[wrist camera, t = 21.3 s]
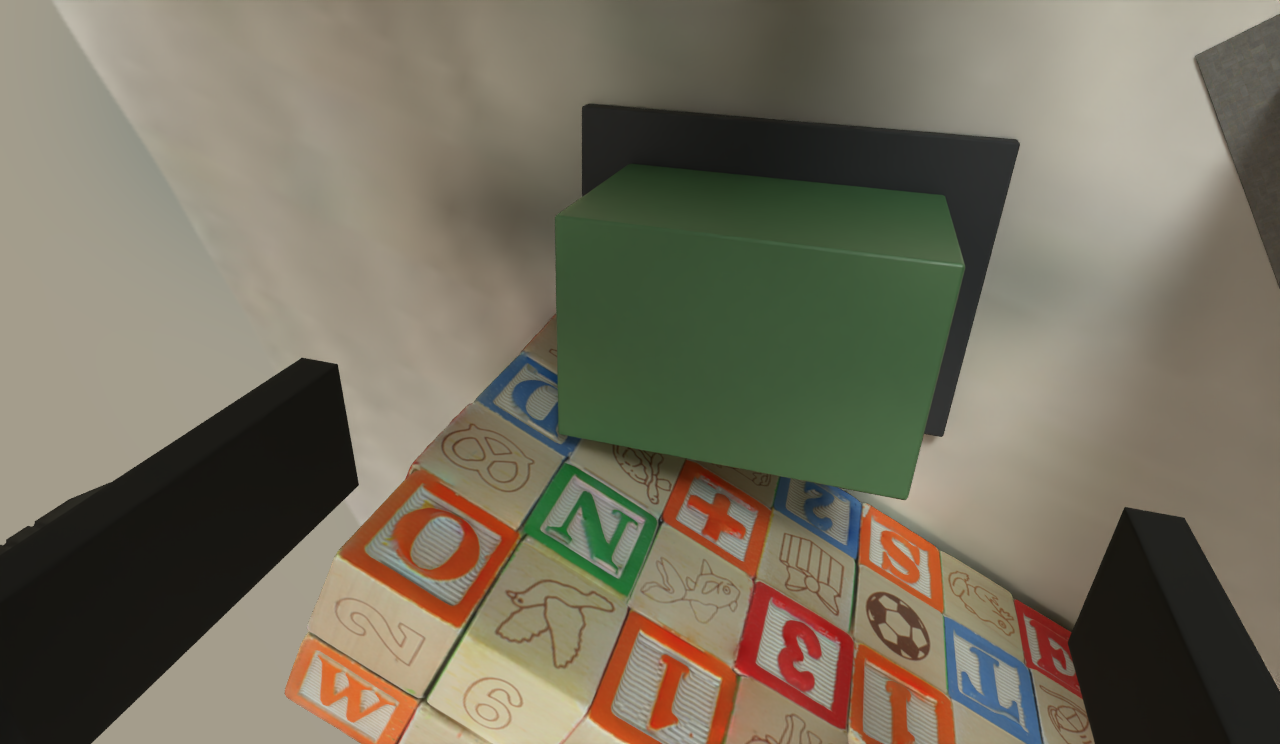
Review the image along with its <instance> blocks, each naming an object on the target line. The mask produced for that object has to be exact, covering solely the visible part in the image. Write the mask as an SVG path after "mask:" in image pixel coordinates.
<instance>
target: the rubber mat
mask: <svg viewBox="0 0 1280 744" xmlns="http://www.w3.org/2000/svg"><path fill="white" fill-rule="evenodd" d="M1019 146H1020V143H1019V142H1018V141H1017V140H1015V139H1003V138H991V137H979V136H967V135H955V134H943V133H931V132H919V131H907V130H895V129H883V128H871V127H859V126H847V125H835V124H823V123H811V122H799V121H787V120H775V119H763V118H751V117H738V116H726V115H714V114H702V113H690V112H678V111H666V110H654V109H642V108H630V107H618V106H606V105H594V104H587V105H585V106H583V107H582V197H583V196H584V195H586V194H587V193H589V192H590V191H591V190H593V189H594V188H596V187H597V186H599V185H600V184H601V183H603V182H604V181H606V180H607V179H609V178H610V177H611V176H613V175H614V174H616V173H617V172H619V171H620V170H621V169H623V168H624V167H626V166H627V165H628V164H639V165H649V166H659V167H669V168H679V169H689V170H698V171H708V172H718V173H728V174H738V175H748V176H758V177H768V178H778V179H788V180H797V181H807V182H817V183H827V184H837V185H847V186H857V187H867V188H877V189H886V190H896V191H906V192H916V193H926V194H936V195H943V196H945V198H946V201H947V205H948V208H949V212H950V215H951V219H952V222H953V226H954V229H955V233H956V236H957V240H958V243H959V247H960V250H961V254H962V257H963V261H964V264H965V271H964V275H963V279H962V283H961V287H960V291H959V295H958V299H957V303H956V307H955V311H954V315H953V319H952V323H951V327H950V331H949V335H948V339H947V343H946V347H945V351H944V355H943V359H942V363H941V367H940V371H939V375H938V379H937V383H936V387H935V391H934V395H933V399H932V403H931V407H930V411H929V415H928V419H927V423H926V427H925V431H924V434H928V435H934V436H940V437H942V436H943V434H944V431H945V427H946V423H947V419H948V415H949V412H950V408H951V404H952V400H953V396H954V393H955V389H956V385H957V381H958V377H959V374H960V370H961V366H962V362H963V358H964V355H965V351H966V347H967V343H968V340H969V336H970V332H971V328H972V324H973V321H974V317H975V313H976V309H977V305H978V302H979V298H980V294H981V290H982V286H983V283H984V279H985V275H986V271H987V267H988V264H989V260H990V256H991V252H992V248H993V245H994V241H995V237H996V233H997V229H998V226H999V222H1000V218H1001V214H1002V211H1003V207H1004V203H1005V199H1006V195H1007V192H1008V188H1009V184H1010V180H1011V176H1012V173H1013V169H1014V165H1015V161H1016V157H1017V154H1018V150H1019Z"/></svg>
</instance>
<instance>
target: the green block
mask: <svg viewBox="0 0 1280 744" xmlns="http://www.w3.org/2000/svg"><path fill="white" fill-rule="evenodd" d="M555 255H556V316H557V377H558V432H559V434H561V435H566V436H572V437H577V438H582V439H587V440H593V441H598V442H603V443H608V444H613V445H619V446H624V447H629V448H634V449H640V450H645V451H650V452H655V453H661V454H666V455H671V456H676V457H682V458H687V459H692V460H697V461H702V462H708V463H713V464H718V465H723V466H729V467H734V468H739V469H744V470H750V471H755V472H760V473H765V474H771V475H776V476H781V477H786V478H791V479H797V480H802V481H807V482H812V483H818V484H823V485H828V486H833V487H839V488H844V489H849V490H854V491H859V492H865V493H870V494H875V495H880V496H886V497H891V498H896V499H901V500H906V499H907V498H908V495H909V491H910V487H911V483H912V479H913V475H914V471H915V467H916V463H917V459H918V455H919V451H920V447H921V443H922V439H923V435H924V431H925V427H926V423H927V419H928V415H929V411H930V407H931V403H932V399H933V395H934V391H935V387H936V383H937V379H938V375H939V371H940V367H941V363H942V359H943V355H944V351H945V347H946V343H947V339H948V335H949V331H950V327H951V323H952V319H953V315H954V311H955V307H956V303H957V299H958V295H959V291H960V287H961V283H962V279H963V275H964V271H965V264H964V261H963V257H962V254H961V250H960V247H959V243H958V240H957V236H956V233H955V229H954V226H953V222H952V219H951V215H950V212H949V208H948V205H947V201H946V198H945V196H943V195H936V194H926V193H916V192H906V191H896V190H886V189H877V188H867V187H857V186H847V185H837V184H827V183H817V182H807V181H797V180H788V179H778V178H768V177H758V176H748V175H738V174H728V173H718V172H708V171H698V170H689V169H679V168H669V167H659V166H649V165H639V164H628V165H627V166H626V167H624V168H623V169H621V170H620V171H619V172H617V173H616V174H614V175H613V176H611V177H610V178H609V179H607V180H606V181H604V182H603V183H601V184H600V185H599V186H597V187H596V188H594V189H593V190H591V191H590V192H589V193H587V194H586V195H584V196H583V197H581V198H580V199H579V200H577V201H576V202H574V203H573V204H571V205H570V206H569V207H567V208H566V209H564V210H563V211H562V212H560V213H559V214H557V215H556V217H555Z"/></svg>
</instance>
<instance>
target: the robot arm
mask: <svg viewBox="0 0 1280 744" xmlns="http://www.w3.org/2000/svg"><path fill="white" fill-rule="evenodd" d="M358 485H359V483H358V477H357V472H356V466H355V460H354V455H353V449H352V443H351V438H350V432H349V426H348V421H347V415H346V409H345V403H344V398H343V392H342V386H341V381H340V375H339V369H338V364H334V363H328V362H323V361H317V360H311V359H306V358H301V359H299V360H298V361H296V362H295V363H293V364H292V365H290V366H289V367H287V368H286V369H284V370H283V371H281V372H280V373H278V374H276V375H275V376H273V377H272V378H270V379H269V380H268V381H266V382H264V383H263V384H261V385H260V386H258V387H257V388H255V389H254V390H252V391H250V392H249V393H247V394H246V395H244V396H243V397H241V398H240V399H238V400H237V401H235V402H234V403H232V404H231V405H229V406H228V407H226V408H224V409H223V410H221V411H220V412H218V413H217V414H215V415H214V416H212V417H211V418H209V419H208V420H206V421H205V422H203V423H201V424H200V425H199V426H197V427H196V428H194V429H192V430H191V431H189V432H188V433H186V434H185V435H183V436H182V437H180V438H179V439H177V440H175V441H174V442H173V443H171V444H170V445H168V446H166V447H165V448H163V449H162V450H160V451H159V452H157V453H156V454H154V455H153V456H151V457H150V458H148V459H147V460H145V461H143V462H142V463H140V464H139V465H137V466H136V467H134V468H133V469H131V470H130V471H128V472H127V473H125V474H124V475H122V476H121V477H119V478H117V479H116V480H114V481H113V482H111V483H108V484H106V485H103V486H101V487H98V488H96V489H93V490H91V491H88V492H86V493H83V494H81V495H79V496H76V497H74V498H71V499H69V500H68V501H66V502H65V503H63V504H61V505H60V506H58V507H57V508H55V509H54V510H52V511H50V512H49V513H47V514H46V515H44V516H43V517H41V518H40V519H38V520H37V521H35V524H34V526H33V527H30V526H27V527H26V528H24V529H22V530H21V531H19V532H18V533H16V534H15V535H13V536H12V537H10V538H8V539H7V540H6V544H5V545H0V744H91V743H92V742H93V741H94V740H95V739H96V738H97V737H98V736H99V735H101V734H102V733H103V732H104V731H105V729H107V728H108V727H109V726H110V725H111V724H112V723H113V722H114V721H115V720H116V719H117V718H118V717H119V716H120V715H121V714H122V713H123V712H124V711H125V710H126V709H127V708H128V707H130V706H131V705H132V704H133V703H134V702H135V701H136V700H137V699H138V698H139V697H140V696H141V695H142V694H143V693H144V692H145V691H146V690H147V689H148V688H149V687H150V686H151V685H152V684H153V683H154V682H155V681H156V680H157V679H159V678H160V677H161V676H162V675H163V674H164V673H165V672H166V671H167V670H168V669H169V668H170V667H171V666H172V665H173V664H174V663H175V662H176V661H177V660H178V659H179V658H180V657H181V656H182V655H183V654H184V653H185V652H187V650H189V648H191V647H192V646H193V645H194V644H195V643H196V642H197V641H198V640H199V639H200V638H201V637H202V636H203V635H204V634H205V633H206V632H207V631H208V630H209V629H210V628H211V627H212V626H213V625H214V624H215V623H217V622H218V621H219V620H220V619H221V618H222V617H223V616H224V615H225V614H226V613H227V612H228V611H229V610H230V609H231V608H232V607H233V606H234V605H235V604H236V603H237V602H238V601H239V600H240V599H241V598H242V597H244V595H246V594H247V593H248V592H249V591H250V590H251V589H252V588H253V587H254V586H255V585H256V584H257V583H258V582H259V581H260V580H261V579H262V578H263V577H264V576H265V575H266V574H267V573H268V572H269V571H270V570H271V569H273V568H274V566H276V564H278V563H279V562H280V561H281V560H282V559H283V558H284V557H285V556H286V555H287V554H288V553H289V552H290V551H291V550H292V549H293V548H294V547H295V546H296V545H297V544H298V543H299V542H300V541H302V540H303V539H304V538H305V537H306V536H307V535H308V534H309V533H310V532H311V531H312V530H313V529H314V528H315V527H316V526H317V525H318V524H319V523H320V522H321V521H322V520H323V519H324V518H325V517H326V516H327V515H328V514H329V513H331V511H333V509H335V508H336V507H337V506H338V505H339V504H340V503H341V502H342V501H343V500H344V499H345V498H346V497H347V496H348V495H349V494H350V493H351V492H352V491H353V490H354V489H355V488H356V487H357V486H358ZM1068 646H1069V650H1070V654H1071V657H1072V661H1073V665H1074V669H1075V672H1076V676H1077V680H1078V683H1079V687H1080V691H1081V694H1082V698H1083V702H1084V705H1085V709H1086V713H1087V716H1088V720H1089V724H1090V728H1091V731H1092V735H1093V739H1094V742H1095V744H1280V691H1279V689H1278V688H1277V686H1276V684H1275V682H1274V680H1273V678H1272V677H1271V675H1270V673H1269V671H1268V669H1267V668H1266V666H1265V664H1264V662H1263V660H1262V658H1261V657H1260V655H1259V653H1258V651H1257V649H1256V647H1255V646H1254V644H1253V642H1252V640H1251V638H1250V637H1249V635H1248V633H1247V631H1246V629H1245V627H1244V626H1243V624H1242V622H1241V620H1240V618H1239V617H1238V615H1237V613H1236V611H1235V609H1234V607H1233V606H1232V604H1231V602H1230V600H1229V598H1228V596H1227V595H1226V593H1225V591H1224V589H1223V587H1222V586H1221V584H1220V582H1219V580H1218V578H1217V576H1216V575H1215V573H1214V571H1213V569H1212V567H1211V566H1210V564H1209V562H1208V560H1207V558H1206V556H1205V555H1204V553H1203V551H1202V549H1201V547H1200V545H1199V544H1198V542H1197V540H1196V538H1195V536H1194V535H1193V533H1192V531H1191V529H1190V527H1189V525H1188V524H1187V522H1186V520H1185V518H1182V517H1176V516H1171V515H1165V514H1160V513H1154V512H1149V511H1143V510H1138V509H1132V508H1127V507H1125V508H1124V510H1123V513H1122V515H1121V517H1120V520H1119V522H1118V524H1117V527H1116V529H1115V532H1114V534H1113V536H1112V539H1111V541H1110V543H1109V546H1108V548H1107V550H1106V553H1105V555H1104V558H1103V560H1102V562H1101V565H1100V567H1099V569H1098V572H1097V574H1096V576H1095V579H1094V581H1093V584H1092V586H1091V588H1090V591H1089V593H1088V595H1087V598H1086V600H1085V602H1084V605H1083V607H1082V609H1081V612H1080V614H1079V617H1078V619H1077V621H1076V624H1075V626H1074V628H1073V631H1072V633H1071V635H1070V638H1069V640H1068Z"/></svg>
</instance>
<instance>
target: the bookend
mask: <svg viewBox="0 0 1280 744" xmlns="http://www.w3.org/2000/svg"><path fill="white" fill-rule="evenodd" d="M1196 59H1197V62H1198V64H1199V67H1200V70H1201V72H1202V75H1203V78H1204V81H1205V83H1206V86H1207V89H1208V92H1209V94H1210V97H1211V100H1212V103H1213V105H1214V108H1215V111H1216V113H1217V116H1218V119H1219V122H1220V125H1221V127H1222V130H1223V133H1224V136H1225V138H1226V141H1227V144H1228V147H1229V149H1230V152H1231V155H1232V158H1233V161H1234V163H1235V166H1236V169H1237V172H1238V174H1239V177H1240V180H1241V183H1242V185H1243V188H1244V191H1245V194H1246V196H1247V199H1248V202H1249V205H1250V208H1251V210H1252V213H1253V216H1254V219H1255V221H1256V224H1257V227H1258V230H1259V232H1260V235H1261V238H1262V241H1263V243H1264V246H1265V249H1266V252H1267V255H1268V257H1269V260H1270V263H1271V266H1272V268H1273V271H1274V274H1275V277H1276V279H1277V282H1278V285H1279V288H1280V14H1279V15H1277V16H1275V17H1273V18H1271V19H1269V20H1267V21H1265V22H1263V23H1261V24H1259V25H1257V26H1255V27H1253V28H1251V29H1249V30H1247V31H1245V32H1243V33H1241V34H1239V35H1237V36H1235V37H1233V38H1231V39H1229V40H1227V41H1225V42H1223V43H1221V44H1219V45H1217V46H1215V47H1213V48H1211V49H1209V50H1207V51H1205V52H1203V53H1201V54H1199V55H1196Z"/></svg>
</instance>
